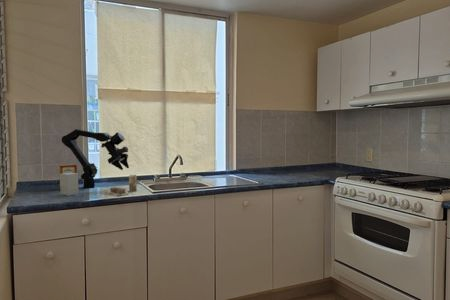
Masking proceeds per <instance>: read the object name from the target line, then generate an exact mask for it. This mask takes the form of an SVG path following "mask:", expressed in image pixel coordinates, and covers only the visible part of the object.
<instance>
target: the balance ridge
mask: <svg viewBox="0 0 450 300" xmlns="http://www.w3.org/2000/svg"><path fill="white" fill-rule="evenodd" d="M109 188H110V191H107V192H106V195H110V196H116V197H122V196H126V195H130V191H129V192H128V191H126V188H123V187H117V186H114V187H113V186H112V187H109Z"/></svg>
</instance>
